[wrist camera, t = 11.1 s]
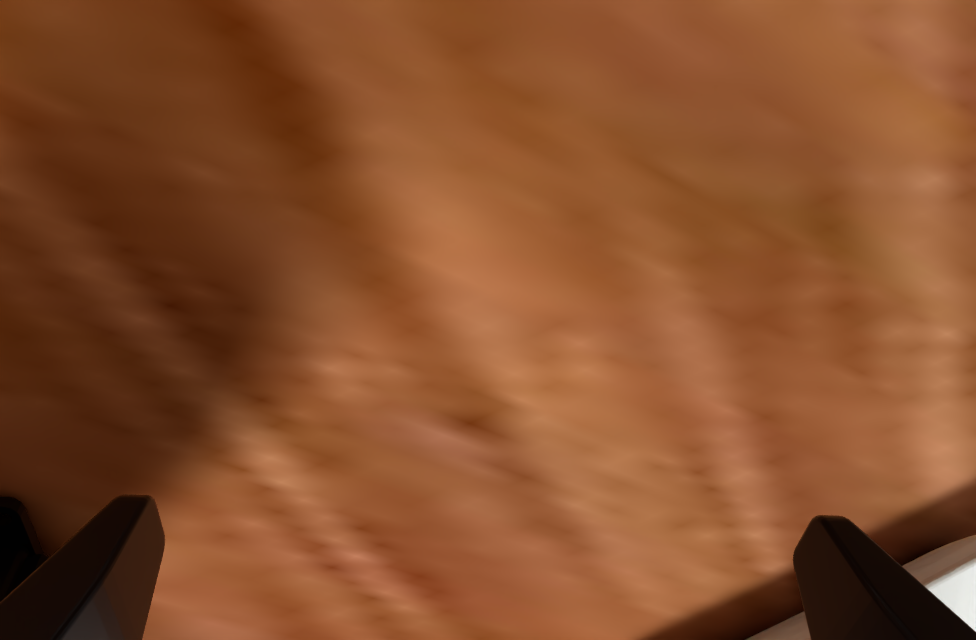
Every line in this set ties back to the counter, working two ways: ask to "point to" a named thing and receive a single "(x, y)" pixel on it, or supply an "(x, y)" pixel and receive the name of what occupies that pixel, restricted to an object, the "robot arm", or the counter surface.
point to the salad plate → (944, 571)
